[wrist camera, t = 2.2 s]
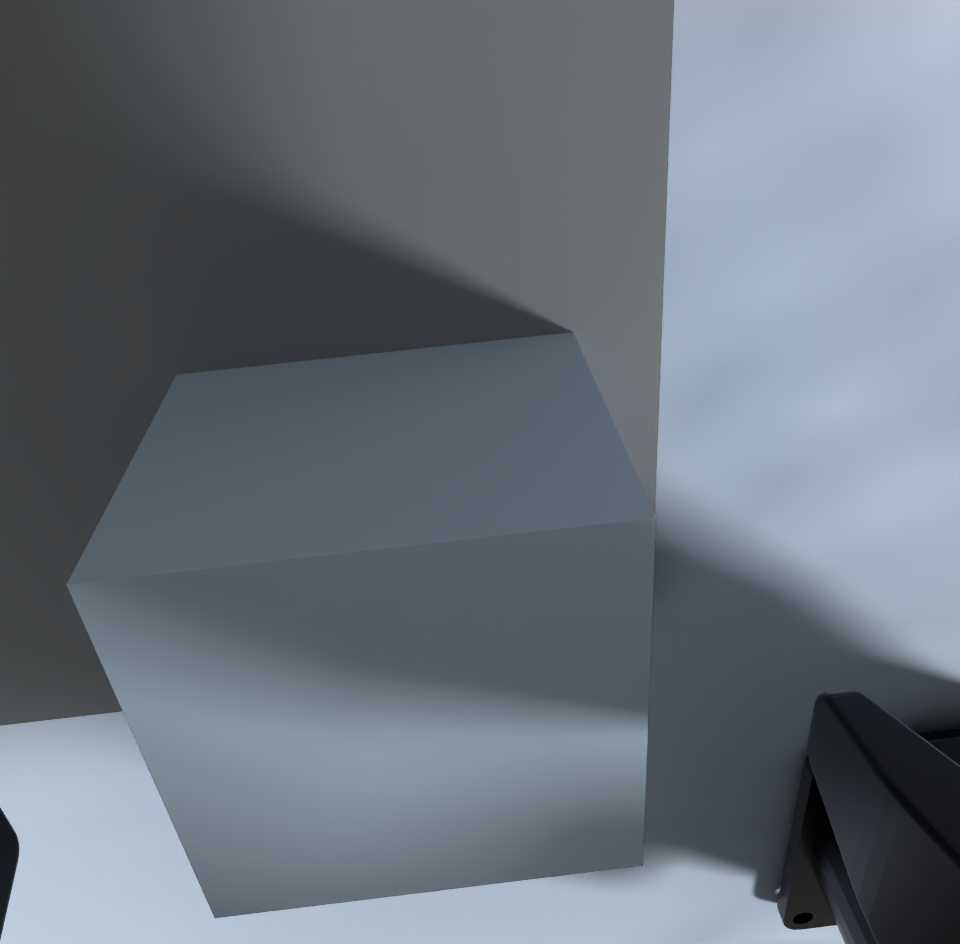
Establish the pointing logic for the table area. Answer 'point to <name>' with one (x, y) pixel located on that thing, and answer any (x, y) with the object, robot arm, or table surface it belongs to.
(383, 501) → the block
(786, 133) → the table surface
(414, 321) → the board
